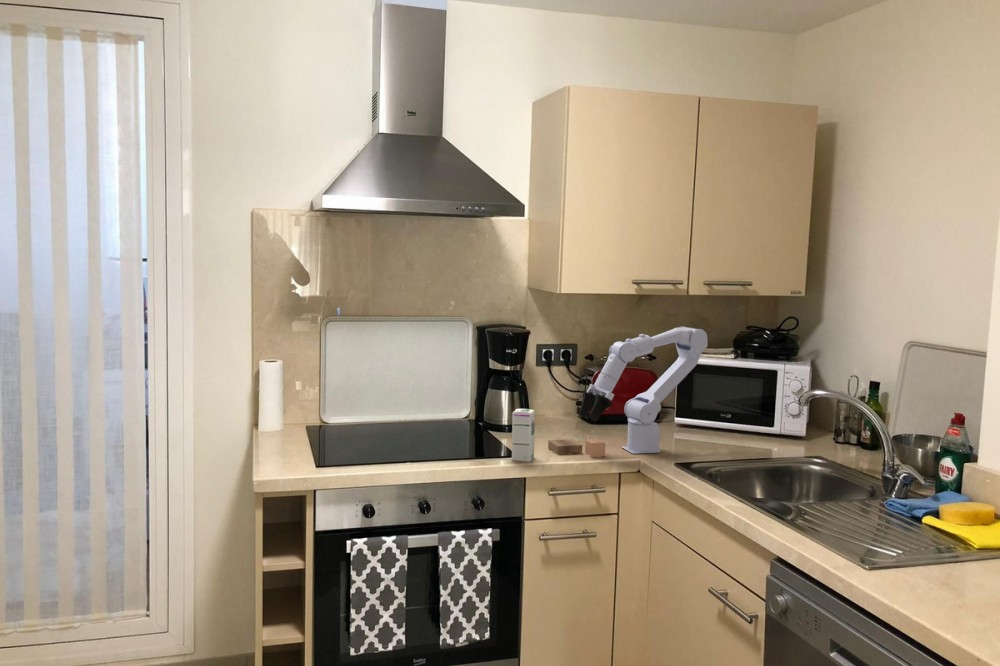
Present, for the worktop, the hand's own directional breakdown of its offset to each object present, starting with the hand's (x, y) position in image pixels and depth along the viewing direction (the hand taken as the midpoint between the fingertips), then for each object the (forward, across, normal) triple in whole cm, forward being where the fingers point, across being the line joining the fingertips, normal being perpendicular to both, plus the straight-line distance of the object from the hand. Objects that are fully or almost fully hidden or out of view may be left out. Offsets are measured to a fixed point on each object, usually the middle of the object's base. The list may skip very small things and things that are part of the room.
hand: (587, 417), depth 250 cm
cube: (+9, 0, +8) cm, 12 cm away
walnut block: (+12, -7, +2) cm, 14 cm away
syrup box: (+20, 0, -12) cm, 23 cm away
